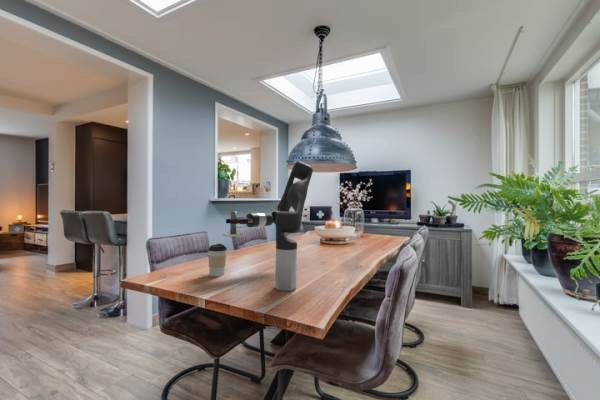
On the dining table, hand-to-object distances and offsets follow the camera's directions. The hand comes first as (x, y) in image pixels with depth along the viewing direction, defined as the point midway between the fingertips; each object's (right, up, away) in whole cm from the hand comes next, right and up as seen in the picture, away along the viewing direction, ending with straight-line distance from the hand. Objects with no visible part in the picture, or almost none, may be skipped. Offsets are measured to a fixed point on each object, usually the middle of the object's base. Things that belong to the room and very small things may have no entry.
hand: (228, 221), depth 144 cm
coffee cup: (-6, -27, +1) cm, 28 cm away
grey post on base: (+2, -7, +2) cm, 8 cm away
